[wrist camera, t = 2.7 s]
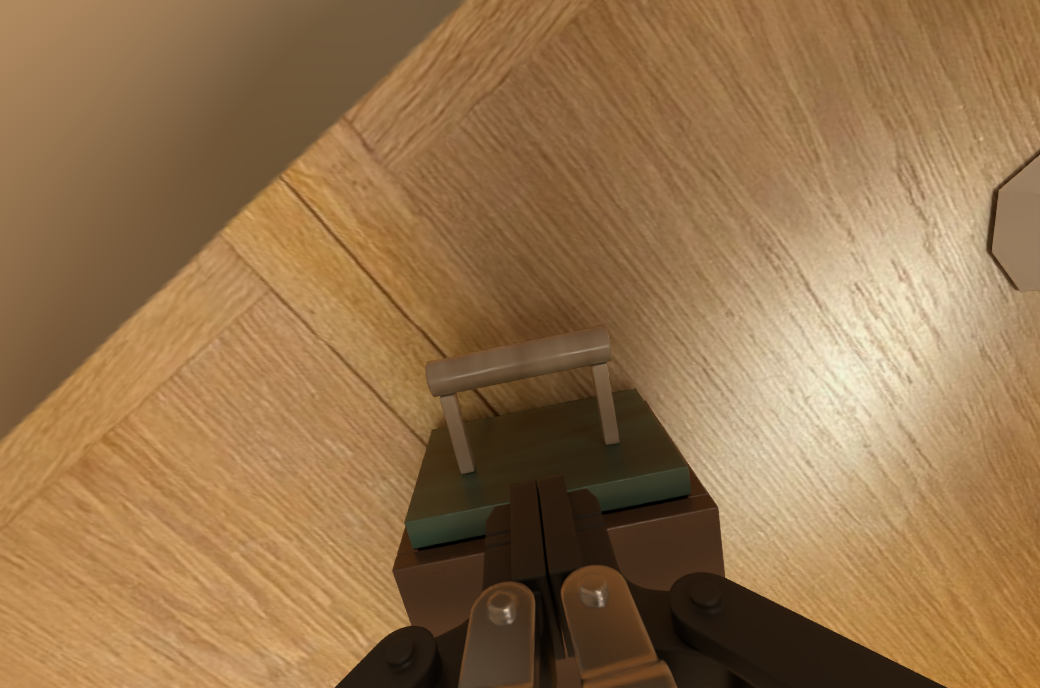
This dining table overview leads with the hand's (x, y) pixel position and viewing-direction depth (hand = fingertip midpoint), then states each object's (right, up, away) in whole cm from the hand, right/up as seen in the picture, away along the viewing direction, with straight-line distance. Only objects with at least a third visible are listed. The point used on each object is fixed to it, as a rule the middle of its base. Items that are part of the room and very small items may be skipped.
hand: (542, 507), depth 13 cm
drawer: (+1, -2, +12) cm, 12 cm away
